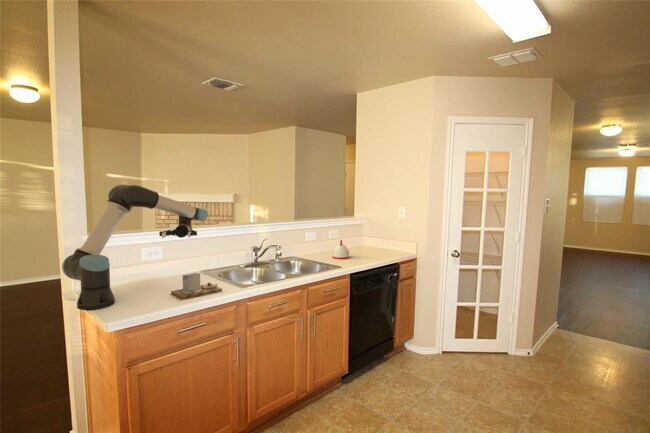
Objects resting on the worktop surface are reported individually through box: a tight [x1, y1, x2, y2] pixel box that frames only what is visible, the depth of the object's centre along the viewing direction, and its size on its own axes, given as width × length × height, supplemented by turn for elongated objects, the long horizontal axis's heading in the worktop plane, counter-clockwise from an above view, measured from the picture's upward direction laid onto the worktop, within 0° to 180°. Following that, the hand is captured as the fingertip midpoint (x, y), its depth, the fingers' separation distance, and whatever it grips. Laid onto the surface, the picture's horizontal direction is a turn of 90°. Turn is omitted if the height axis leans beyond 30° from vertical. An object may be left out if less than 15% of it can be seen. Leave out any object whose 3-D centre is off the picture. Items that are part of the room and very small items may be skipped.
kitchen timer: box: [332, 239, 350, 261], centre depth 289 cm, size 14×14×15 cm
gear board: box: [170, 282, 223, 301], centre depth 188 cm, size 22×14×4 cm, turn 135°
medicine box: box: [182, 272, 201, 292], centre depth 186 cm, size 8×4×9 cm, turn 147°
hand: (175, 235), depth 194 cm, fingers open, 13 cm apart
